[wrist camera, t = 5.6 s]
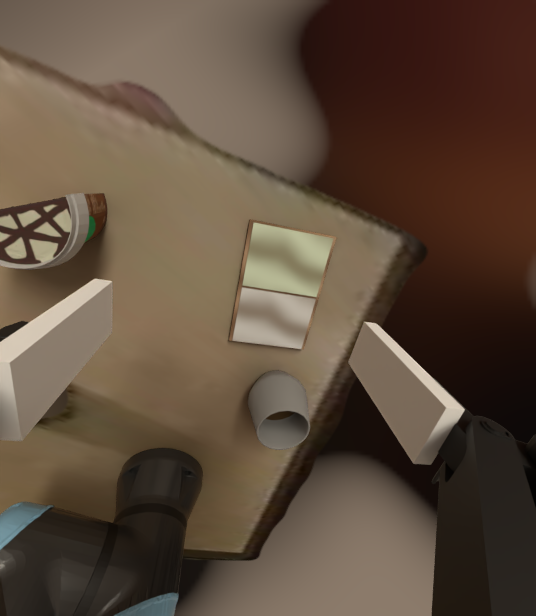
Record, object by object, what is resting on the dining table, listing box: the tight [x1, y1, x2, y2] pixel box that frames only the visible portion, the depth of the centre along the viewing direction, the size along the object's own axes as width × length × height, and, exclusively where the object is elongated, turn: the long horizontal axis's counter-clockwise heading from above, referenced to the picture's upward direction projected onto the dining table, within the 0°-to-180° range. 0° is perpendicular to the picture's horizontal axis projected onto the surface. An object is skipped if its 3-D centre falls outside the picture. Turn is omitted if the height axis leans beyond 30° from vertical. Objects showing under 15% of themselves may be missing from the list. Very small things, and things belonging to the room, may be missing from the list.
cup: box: [248, 370, 310, 450], centre depth 43 cm, size 10×9×10 cm
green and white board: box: [229, 219, 336, 349], centre depth 41 cm, size 18×12×1 cm, turn 168°
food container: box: [0, 193, 107, 270], centre depth 30 cm, size 12×6×10 cm, turn 100°
